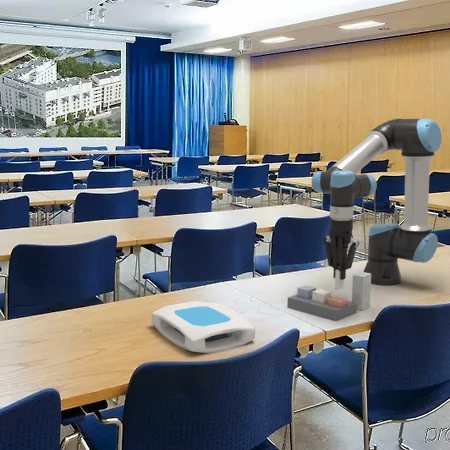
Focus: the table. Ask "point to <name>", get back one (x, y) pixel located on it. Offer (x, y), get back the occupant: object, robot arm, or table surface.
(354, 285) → the skincare box
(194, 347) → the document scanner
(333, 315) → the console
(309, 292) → the slate key
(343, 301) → the terracotta key
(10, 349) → the table surface
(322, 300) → the white key
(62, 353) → the table surface
